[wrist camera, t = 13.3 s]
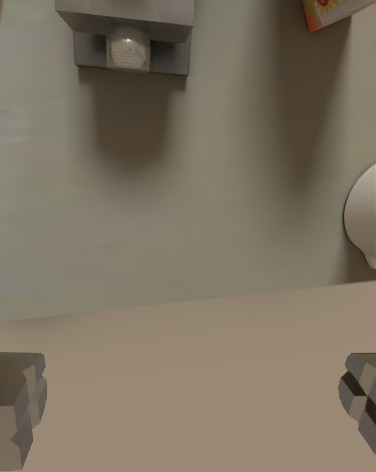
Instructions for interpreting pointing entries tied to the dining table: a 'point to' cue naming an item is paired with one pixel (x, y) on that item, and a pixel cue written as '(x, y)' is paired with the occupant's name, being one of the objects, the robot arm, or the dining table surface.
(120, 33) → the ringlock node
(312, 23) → the cracker box
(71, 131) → the dining table surface
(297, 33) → the dining table surface
